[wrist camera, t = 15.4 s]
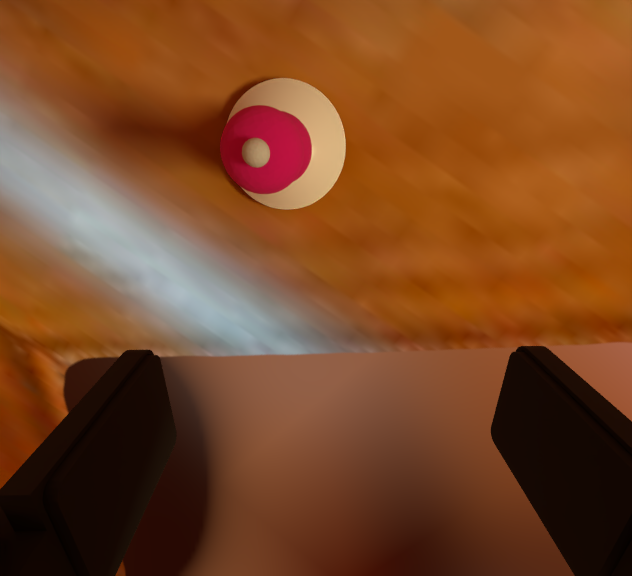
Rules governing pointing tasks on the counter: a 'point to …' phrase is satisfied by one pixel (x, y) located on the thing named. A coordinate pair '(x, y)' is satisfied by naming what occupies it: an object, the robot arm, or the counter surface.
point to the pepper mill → (265, 149)
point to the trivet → (323, 136)
